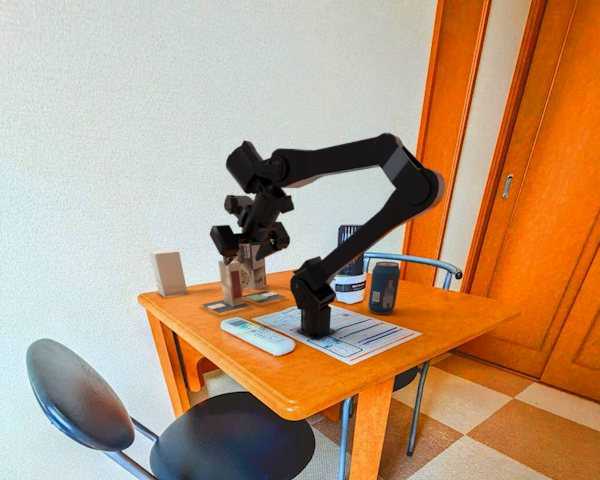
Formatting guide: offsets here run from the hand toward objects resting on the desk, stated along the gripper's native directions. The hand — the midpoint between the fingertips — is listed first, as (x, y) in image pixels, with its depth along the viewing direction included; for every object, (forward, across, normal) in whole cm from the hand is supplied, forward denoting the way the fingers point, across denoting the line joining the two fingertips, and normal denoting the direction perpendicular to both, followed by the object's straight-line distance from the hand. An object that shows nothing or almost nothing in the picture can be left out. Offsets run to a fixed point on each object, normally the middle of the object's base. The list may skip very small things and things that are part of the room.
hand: (241, 262), depth 78 cm
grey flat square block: (+13, -11, +4) cm, 18 cm away
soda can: (-12, -27, +22) cm, 37 cm away
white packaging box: (+31, +7, -13) cm, 35 cm away
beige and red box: (+13, 0, +4) cm, 13 cm away
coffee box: (+23, -15, -4) cm, 27 cm away
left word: (+14, +2, +4) cm, 14 cm away
